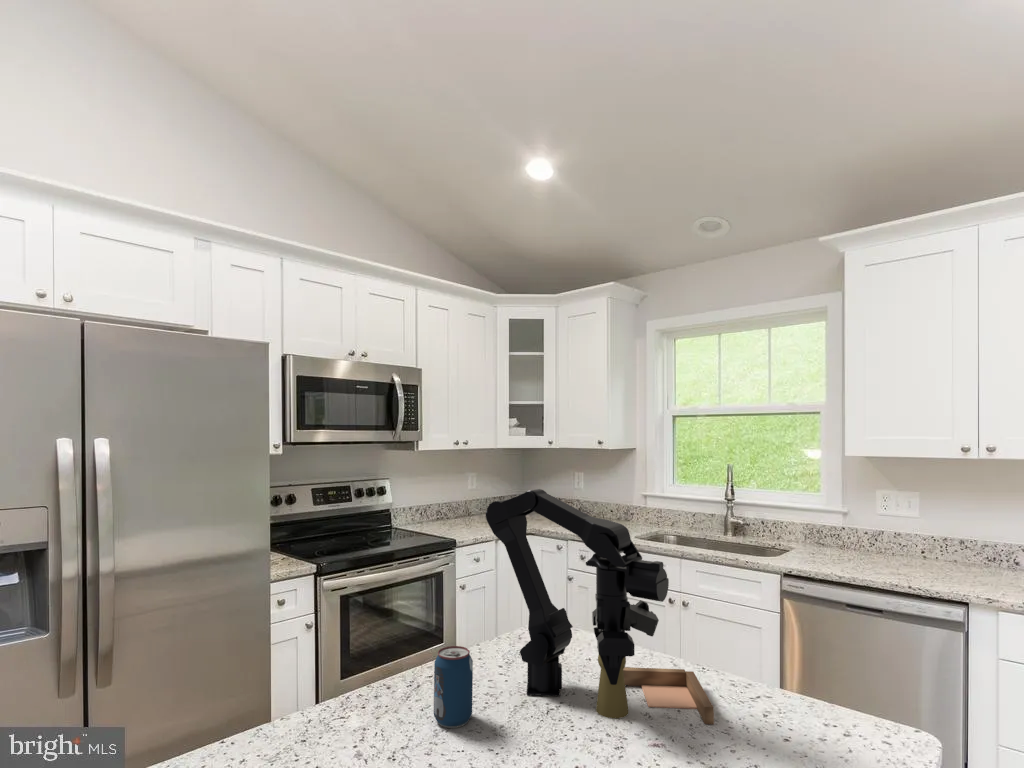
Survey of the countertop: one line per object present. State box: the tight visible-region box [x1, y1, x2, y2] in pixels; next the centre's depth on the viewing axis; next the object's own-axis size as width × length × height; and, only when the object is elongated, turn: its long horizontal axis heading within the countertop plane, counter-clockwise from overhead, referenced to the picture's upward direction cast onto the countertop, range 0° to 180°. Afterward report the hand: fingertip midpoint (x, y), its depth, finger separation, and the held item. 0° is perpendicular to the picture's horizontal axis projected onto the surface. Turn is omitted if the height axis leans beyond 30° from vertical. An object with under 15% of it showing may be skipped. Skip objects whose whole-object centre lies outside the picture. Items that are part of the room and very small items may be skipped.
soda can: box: [433, 645, 474, 729], centre depth 108 cm, size 7×7×12 cm
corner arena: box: [623, 666, 715, 725], centre depth 116 cm, size 18×17×3 cm
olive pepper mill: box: [595, 654, 629, 719], centre depth 112 cm, size 6×6×11 cm
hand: (611, 677), depth 112 cm, fingers open, 6 cm apart
